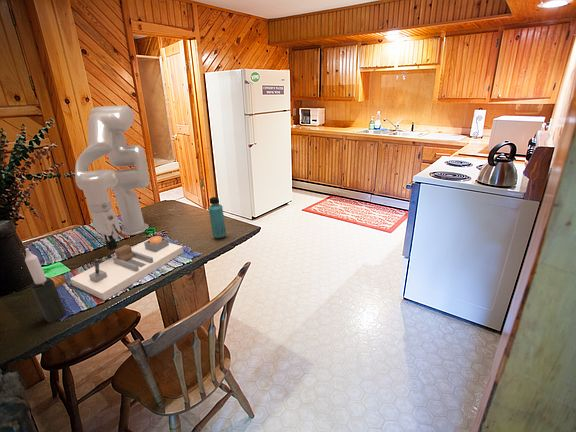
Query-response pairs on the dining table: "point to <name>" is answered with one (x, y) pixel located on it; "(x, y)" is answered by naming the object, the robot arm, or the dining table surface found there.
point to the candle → (44, 290)
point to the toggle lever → (97, 265)
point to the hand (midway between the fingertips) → (112, 248)
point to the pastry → (58, 280)
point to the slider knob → (124, 253)
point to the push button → (155, 240)
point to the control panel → (126, 269)
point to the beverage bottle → (217, 218)
